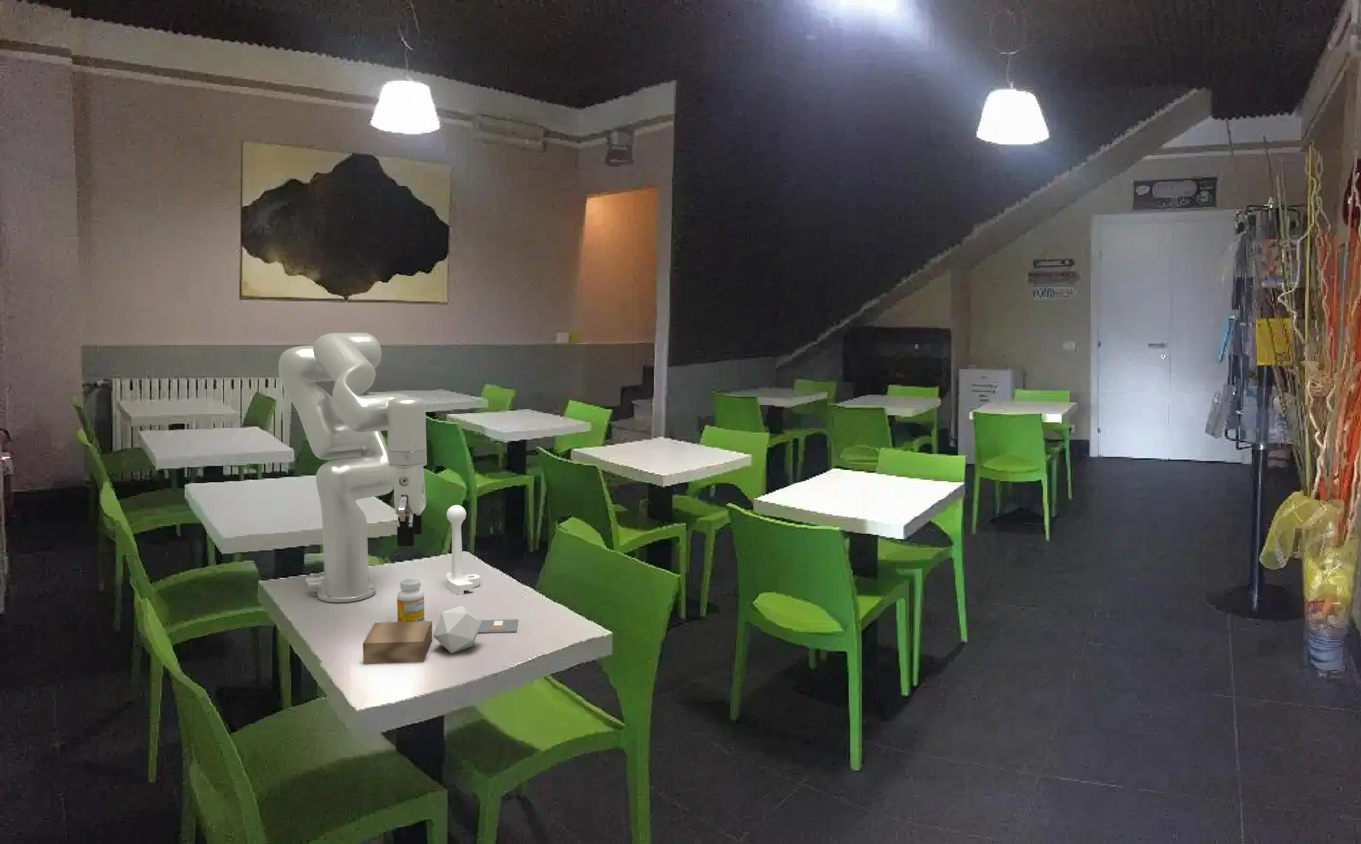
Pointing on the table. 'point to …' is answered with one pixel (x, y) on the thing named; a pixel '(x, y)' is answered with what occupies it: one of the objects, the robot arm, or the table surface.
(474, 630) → the die
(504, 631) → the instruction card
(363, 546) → the robot arm
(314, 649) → the table surface
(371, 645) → the base block
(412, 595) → the supplement bottle
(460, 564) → the joystick
